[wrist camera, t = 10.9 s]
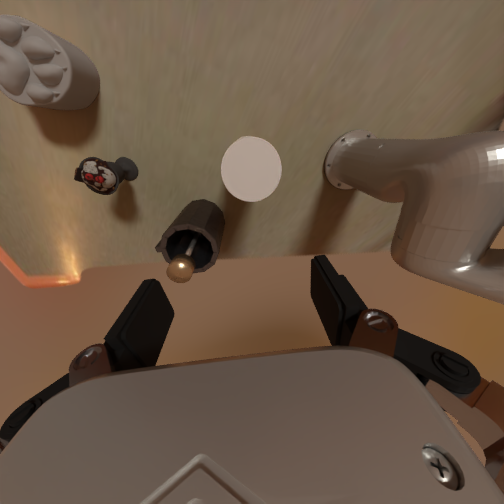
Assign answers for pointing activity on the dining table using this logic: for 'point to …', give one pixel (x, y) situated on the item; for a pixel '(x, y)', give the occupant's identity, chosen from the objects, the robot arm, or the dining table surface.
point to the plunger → (183, 263)
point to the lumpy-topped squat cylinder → (44, 67)
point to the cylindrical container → (251, 169)
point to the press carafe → (179, 236)
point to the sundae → (105, 174)
